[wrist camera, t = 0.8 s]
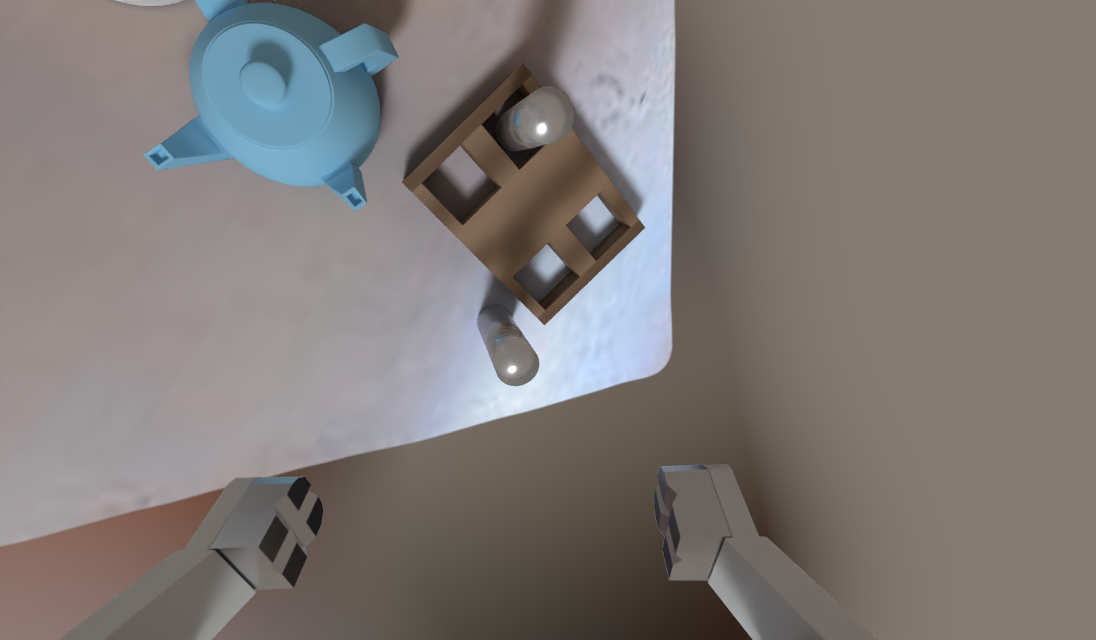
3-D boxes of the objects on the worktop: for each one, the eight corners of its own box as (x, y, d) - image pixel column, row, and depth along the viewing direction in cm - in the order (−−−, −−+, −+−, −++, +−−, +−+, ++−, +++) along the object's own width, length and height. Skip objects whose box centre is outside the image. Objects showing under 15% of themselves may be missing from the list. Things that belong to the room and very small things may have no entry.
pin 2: (469, 322, 50) (486, 367, 38) (494, 298, 50) (518, 336, 38) (493, 344, 52) (516, 394, 40) (517, 320, 52) (547, 364, 40)
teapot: (373, 213, 44) (361, 224, 34) (194, 168, 39) (120, 165, 29) (403, 52, 40) (399, 12, 31) (211, -22, 35) (133, -99, 25)
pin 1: (487, 128, 44) (513, 111, 32) (515, 101, 44) (551, 73, 32) (513, 159, 46) (547, 154, 34) (540, 133, 46) (584, 118, 34)
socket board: (402, 181, 44) (401, 182, 41) (516, 70, 43) (523, 62, 41) (537, 317, 52) (544, 325, 50) (633, 224, 52) (645, 227, 49)
